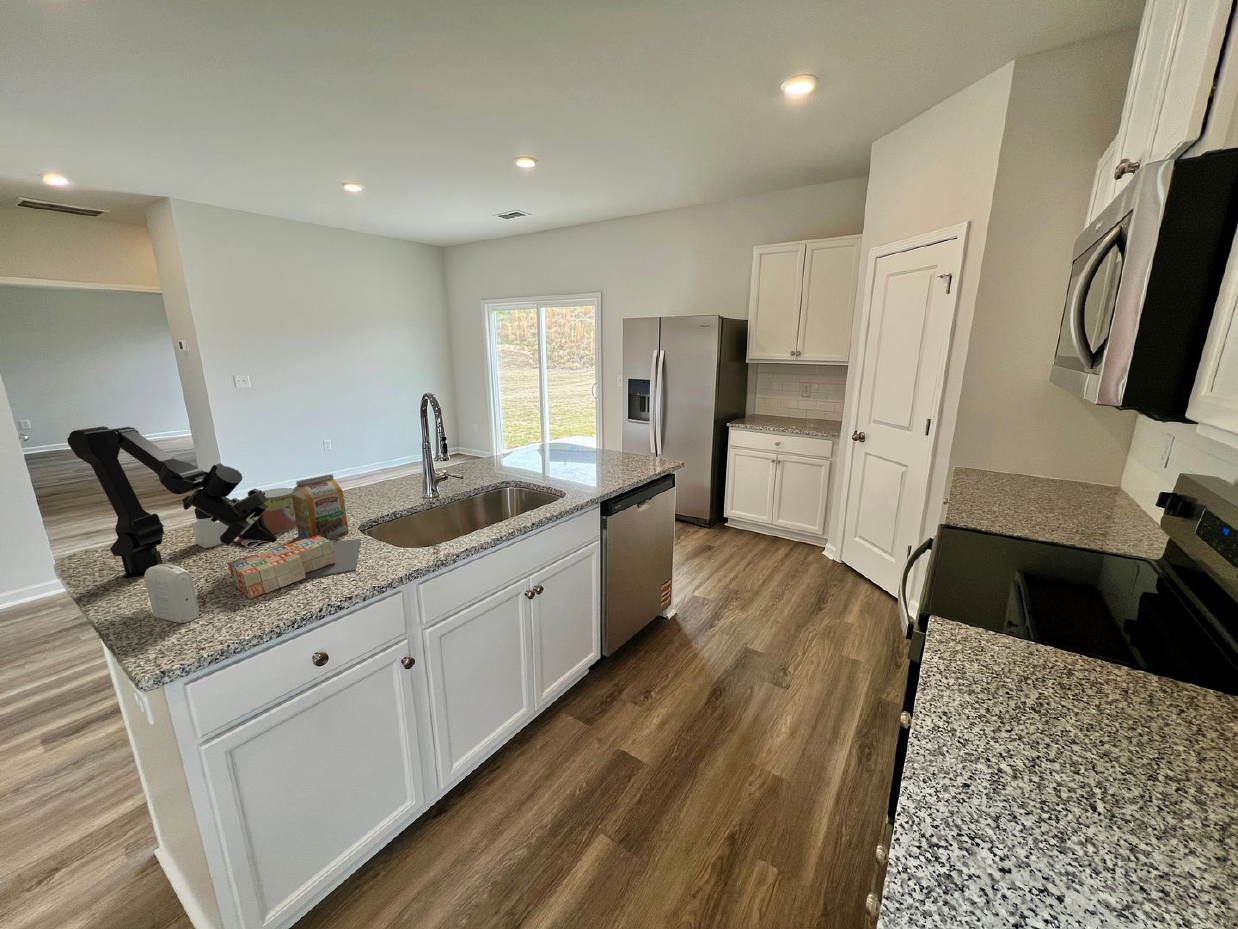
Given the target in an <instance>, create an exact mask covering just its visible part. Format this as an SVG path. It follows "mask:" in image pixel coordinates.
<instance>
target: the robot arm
mask: <svg viewBox="0 0 1238 929" xmlns="http://www.w3.org/2000/svg"><path fill="white" fill-rule="evenodd" d="M66 442H67V444H68V447H70V449H71V450H72V452H73V453H74V454H75V456H76V458H78V459H80V460H82V461H83V462H85V463H87V464H88V465H89V466H91V468H92V469H93V472H94V473H95V476H96V478H97V479H98V481H99V483H100V484H101V487H102V489H103V492H104V493H105V494H106V497H107V499H108V500H109V503H110V505H111V507H112V508H113V510H114V512H115V514H116V517H117V522H116V524H115V530H114V531H115V534H116V536H117V538H116V541H114V543H113V544H112V545H111V547H110V548H109V550H110V553H112V554H113V556H114V557H121V561H122V565H123V569H124V572H125V573H124V574H123V575H122V578H123V579H124V578H126V579H127V578H130V577H137V576H144V575H145V572H146V570H147V569H148V568H150V567H153V566H156V565H160V564H164V562H163V560H162V559H163V558H162V556H161V551H160V550H158V549H157V546H158V545H162V543H163V538H164V537H163V536H164V534H165V530H164V527H165V525H164V524H163V523H162V521H161V519H160V517H159V515H158V514H157V513H150V512H148V511H146V510H145V509H144V508H143V506H142V505H141V502H140V500H139V498H138V496H137V495H136V493H135V490H134V489H133V487H132V484H131V483H130V480H129V478H128V476H127V474H126V473H125V470H124V468H123V466H122V465H121V462H120V461H119V454H120V450H121V449H122V450H123V451H125V452H126V453H127V454H129V455H130V456H131V457H133V458H134V459H135V460H137V461H139V462H140V463H142V464H143V465H144V466H146V467H147V468H148V469H150V470H151V471H153V472H154V473H155V474H156V475H158V479H159V483H161V485H162V486H164V487H165V489H167V490H168V491H169V492H170V493H171V494H174V495H176V496H177V495H183V494H187V493H190V492H193V493H192V494H190V495H187V496H185V497H184V498H182V499H181V501H182V503H183V504H182V505H183V509H184V510H185V511H186V510H189V509H190V508H191V507H192V506H193V507H194V508H197V509H199V510H201V511H203V512H204V513H206V514H208V515H209V516H211V517H213V518H212V519H211V521H213V522H216V521H217V520H218V521H219V522H221V523H223V524H225V525H226V526H228V528H227V529H226V531H225V532H224V533H223V534H222V535H221V536H220V541H221V543H223V545H226V546H227V547H229V546H230V545H232V543H233V542H234V540H235V539H237V538H238V540H249V541H250V540H252V541H258V542H260V541H261V542H265V543H273V544H274V543H275V542H276V541H277V540H278V538H277V537H276V536H275V535H274V533H272V532H271V531H270V530H269V529H268V528H267V527H266V525H265V524H264V522H263V516H264V515H263V514H262V513H263V512H264V511H265V510H266V508H267V507H268V506H267V505H265V504H264V503H265V501H268V499H267V498H266V497H265V496H264V495H265V492H262V490H261V489H257V488H256V487H254V488H252V489H251V490H249V491H248V492H247V496H245V497H244V498H243V499H241V500H240V499H238V498H236V497H235V498H234V497H233V498H232V499H230V498H229V497H228V496H229V495H230V494H231V493H232V492H233V491H234V490H235V488H237V487H238V485H239V484H240V483H241V482H242V481H243V475H242V473H241V472H240V470H238V469H235V468H233V467H231V466H227V465H226V466H225V465H224V464H223V463H221V462H220V463H217V464H213V465H212V466H211V468H210V470H209V471H205V470H204V471H203V469H202V468H199V467H198V466H196V465H194V464H192V463H190V462H186V461H181V460H178V459H176V458H174V457H173V456H171V455H170V454H169V453H167V452H166V451H164V450H163V449H161V448H160V447H159V446H157V445H156V444H155V443H153V442H152V441H151V440H148V439H147V438H146V437H144V436H143V435H142V434H140V432H139V430H138V429H136V428H135V427H130V426H124V427H118V428H117V427H116V428H109V427H108V426H103V425H102V426H97V427H89V428H82V429H75V430H73V431H71V432H70V433H69V435H68V437H67V441H66ZM261 514H262V515H261ZM260 515H261V516H260ZM259 516H260V517H259ZM239 535H240V536H239ZM238 536H239V537H238Z"/></svg>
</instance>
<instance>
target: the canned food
mask: <svg viewBox="0 0 1238 929" xmlns="http://www.w3.org/2000/svg"><path fill="white" fill-rule="evenodd" d="M293 489H294V488H292V487H280V488H279V487H277V488H272V489H266V490H263V491H262V490H261V491H262V492H265V495H264V496H265V497H266V498H267V499H268V501H265V503H264V504H265V505H267V506H268V507H267V508H266V510H265V511H264V512H263V513H262V514H263V515H264V516H263V522H264V524H265V525H266V527H267V528H268V529H269V530H270V531H271V532H272V533H273V534H277V533H278V534H279V533H284V532H287V531H291V530H294V529H297V524H296V518H295V512H294V506H293V500H292V491H293ZM262 514H261V515H262ZM261 515H260V516H261ZM260 516H259V517H260Z"/></svg>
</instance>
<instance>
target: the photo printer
mask: <svg viewBox="0 0 1238 929" xmlns="http://www.w3.org/2000/svg"><path fill="white" fill-rule="evenodd" d="M143 576H144V582H145V586H146V589H147V593H148V598H149V602H150V606H151V610H152V614H153V616H154V617H155V618H158V619H162V620H165V621H169V622H173V623H179V624H180V623H181V624H183V623H185V624H186V623H189V622H192V621H194V620H195V619H197V618H198V616H200V609H199V605H198V604H199V603H198V598H197V594H196V590H195V585H194V581H193V577H192V575H191V574H190V572H189V571H187V570H186V569H184V568H182V567H179V566H177V565H174V564H168V563H166V564H165V563H163V564H160V565H156V566H153V567H150V568H148V569H147V570H146V572H145V575H143Z"/></svg>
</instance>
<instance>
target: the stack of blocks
mask: <svg viewBox="0 0 1238 929" xmlns="http://www.w3.org/2000/svg"><path fill="white" fill-rule="evenodd" d="M333 542H334V541H333V540H331V539H326V538H324V537H321V536H319V535H317V536H314V537H311V538H308V539H300V540H297V541H295V542H292V543H291V542H290V543H288V544H285V545H284V544H283V545H282V546H279V547H275V548H273V549H270V550H266V551H263V552H260V553H256V554H252V555H249V556H246V557H242V558H238V559H235V560H232V561H229V562H227V566H228V569H229V574H230V575H231V579H232V584H233V585H234V586H235V588H237V589H238V590H240V591H241V593H242V594H244V595H245V596H246V597H248V598H249V599H253V598H256V597H258V596H261V595H263V594H268V593H270V592H273V591H275V590H277V589H279V588H284V587H285V586H288V585H291V584H293V583H296V582H298V581H302V580H301V579H303V578H306V576H305V573H307V572H310V571H312V570H316V569H319V568H322V567H324V566H326V565H329V564H332V563H334V562H337V559H336V554H335V551H334V546H333Z"/></svg>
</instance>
